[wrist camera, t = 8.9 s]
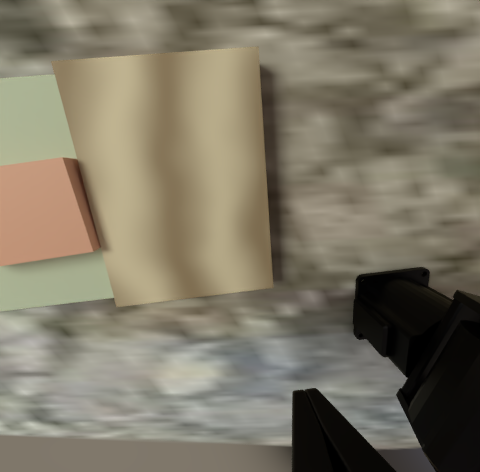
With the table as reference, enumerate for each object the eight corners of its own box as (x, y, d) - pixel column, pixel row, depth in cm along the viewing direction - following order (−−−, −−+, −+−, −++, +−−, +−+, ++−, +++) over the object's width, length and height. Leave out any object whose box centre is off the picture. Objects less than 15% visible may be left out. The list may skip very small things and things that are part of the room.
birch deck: (253, 62, 16) (258, 46, 14) (268, 276, 20) (273, 287, 18) (72, 75, 15) (51, 61, 13) (127, 293, 19) (116, 307, 17)
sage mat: (65, 76, 15) (60, 73, 15) (121, 294, 19) (119, 297, 19) (-98, 88, 14) (-106, 86, 14) (-4, 309, 19) (-9, 312, 18)
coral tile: (86, 160, 16) (62, 157, 14) (111, 241, 18) (93, 251, 15) (-47, 178, 16) (-96, 179, 13) (-10, 259, 17) (-47, 273, 15)
